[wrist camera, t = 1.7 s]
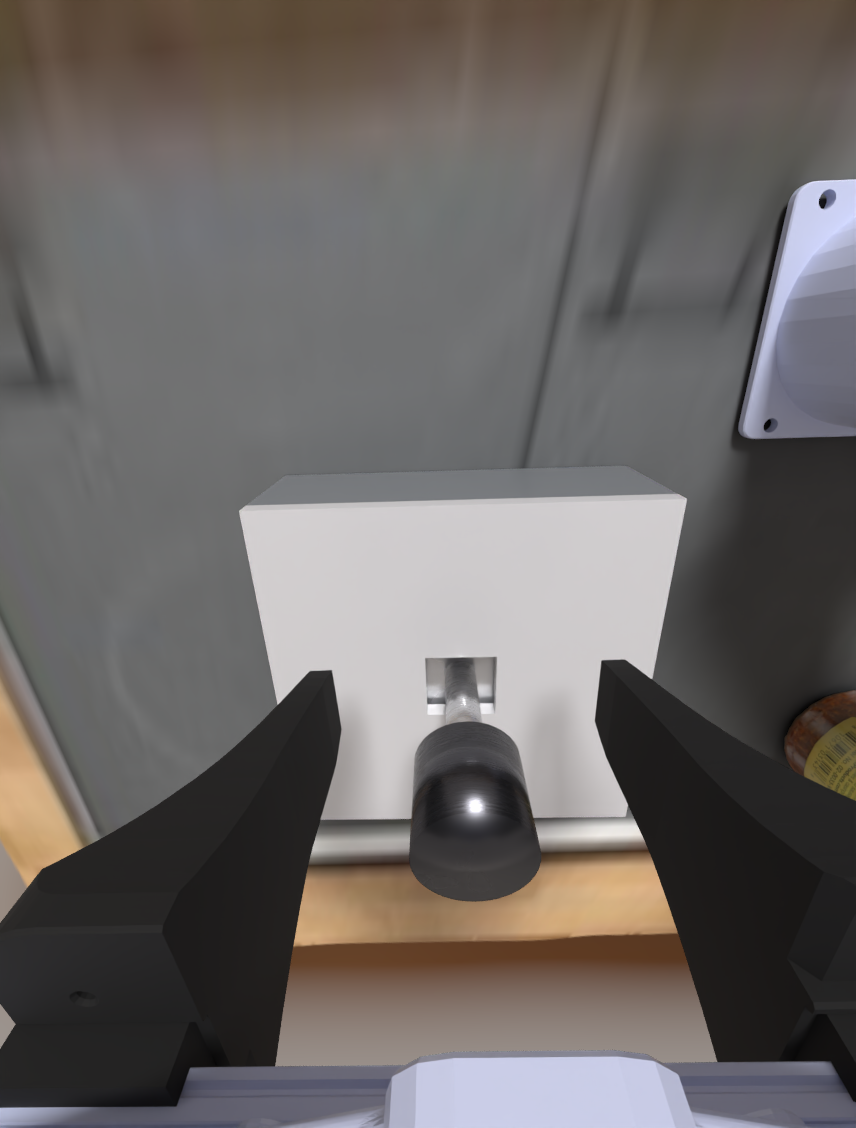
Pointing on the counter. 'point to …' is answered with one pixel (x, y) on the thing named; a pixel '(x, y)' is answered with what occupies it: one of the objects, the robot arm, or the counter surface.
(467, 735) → the plunger
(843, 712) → the sauce bottle
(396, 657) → the slotted white block
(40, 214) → the counter surface
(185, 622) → the counter surface
